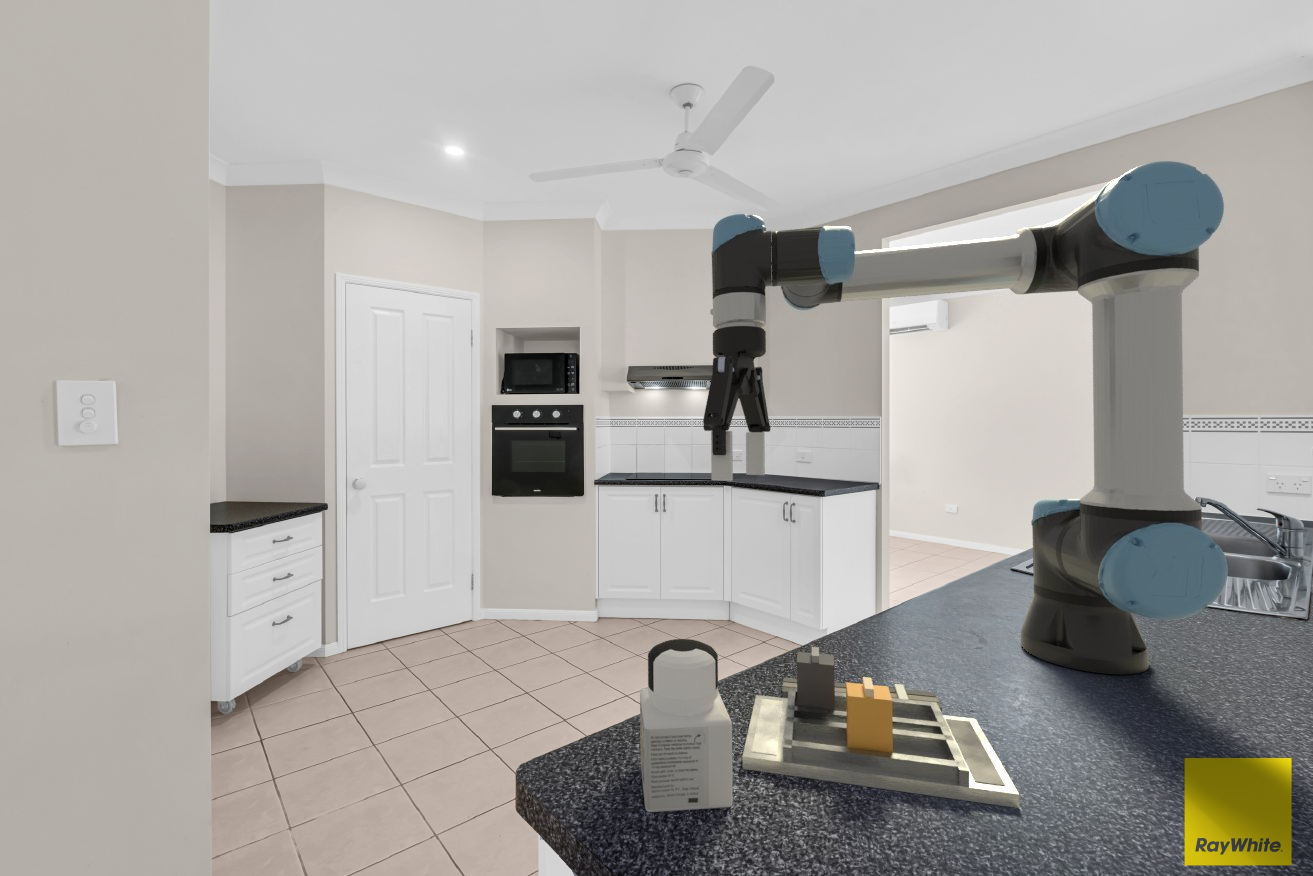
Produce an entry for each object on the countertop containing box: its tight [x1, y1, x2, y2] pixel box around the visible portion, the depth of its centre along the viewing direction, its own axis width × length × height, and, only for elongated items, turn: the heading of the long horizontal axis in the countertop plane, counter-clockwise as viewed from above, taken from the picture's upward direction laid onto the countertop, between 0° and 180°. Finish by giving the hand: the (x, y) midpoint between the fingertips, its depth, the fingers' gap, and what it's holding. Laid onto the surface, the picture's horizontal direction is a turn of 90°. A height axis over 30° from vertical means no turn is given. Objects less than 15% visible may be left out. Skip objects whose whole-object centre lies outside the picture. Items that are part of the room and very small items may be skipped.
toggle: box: [796, 646, 836, 710], centre depth 65 cm, size 4×3×7 cm
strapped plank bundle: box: [781, 677, 943, 713], centre depth 70 cm, size 18×5×2 cm, turn 75°
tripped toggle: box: [845, 676, 893, 753], centre depth 56 cm, size 4×3×7 cm
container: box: [639, 638, 733, 813], centre depth 54 cm, size 8×8×13 cm
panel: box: [742, 687, 1020, 809], centre depth 60 cm, size 24×14×3 cm, turn 75°
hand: (740, 477), depth 82 cm, fingers open, 13 cm apart
